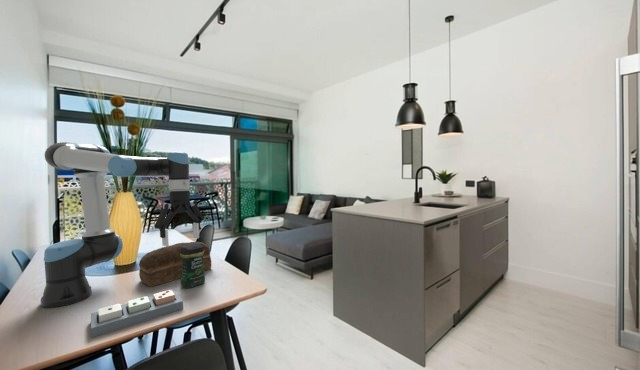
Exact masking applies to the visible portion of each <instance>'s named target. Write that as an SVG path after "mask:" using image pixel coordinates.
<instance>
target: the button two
mask: <svg viewBox="0 0 640 370" xmlns="http://www.w3.org/2000/svg"><path fill="white" fill-rule="evenodd" d="M148 298H149V297H148V296H147V295H146V296H141V297H139V298H134V299H130V300H128V301H127V303H126V304H127V305H128V311H129V314H130V313H134V312H137V311H140V310H144V309H147V308H150V301H149V299H148Z"/></svg>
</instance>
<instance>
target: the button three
mask: <svg viewBox="0 0 640 370" xmlns="http://www.w3.org/2000/svg"><path fill="white" fill-rule="evenodd" d="M172 291H173V290H172V289H168V290H165V291H160V292H157V293H154V294H152V295H153V296H152V297H153V300H154V303H155V304H156V306H158V305H161V304H164V303H168V302H171V301H175V294H174V293H173V292H172Z"/></svg>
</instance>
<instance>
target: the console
mask: <svg viewBox="0 0 640 370" xmlns="http://www.w3.org/2000/svg"><path fill="white" fill-rule="evenodd" d="M172 292H173V293H174V294H175V301H171V302H168V303H164V304H161V305H158V306H156V304H155V303H154V300H153V296H150V297H148V299H149V301H150V308H147V309H144V310H140V311H137V312H134V313H130V314H129V311H128V305H127V303H123V304H121V308H122V316H120V317H117V318H113V319H110V320H106V321H103V322H99V312H98V311H94V312H91V313H90V332H91V333H90V334H91V338H94V337H99V336H101V335H104V334H108V333H112V332H114V331H117V330H120V329H124V328H126V327H130V326H134V325H136V324H137V325H138V324H140V323H143V322H146V321H149V320H153V319H155V318H158V317H162V316H165V315H167V314H171V313H174V312H177V311H181V310H184V301H183V299H182V298H181V296H180V295H179V294H178V292H177V290H172Z"/></svg>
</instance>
